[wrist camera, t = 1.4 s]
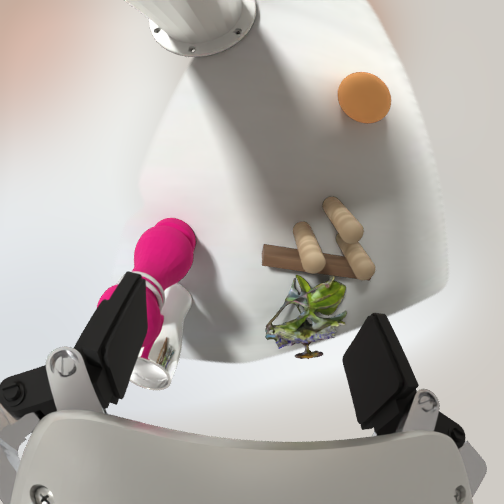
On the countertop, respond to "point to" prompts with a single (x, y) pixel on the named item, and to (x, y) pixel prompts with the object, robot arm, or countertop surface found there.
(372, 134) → the countertop surface
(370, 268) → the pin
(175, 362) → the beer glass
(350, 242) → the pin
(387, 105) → the ball
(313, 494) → the robot arm
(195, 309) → the countertop surface
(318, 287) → the passion flower
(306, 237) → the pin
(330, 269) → the wall
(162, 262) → the pepper mill
